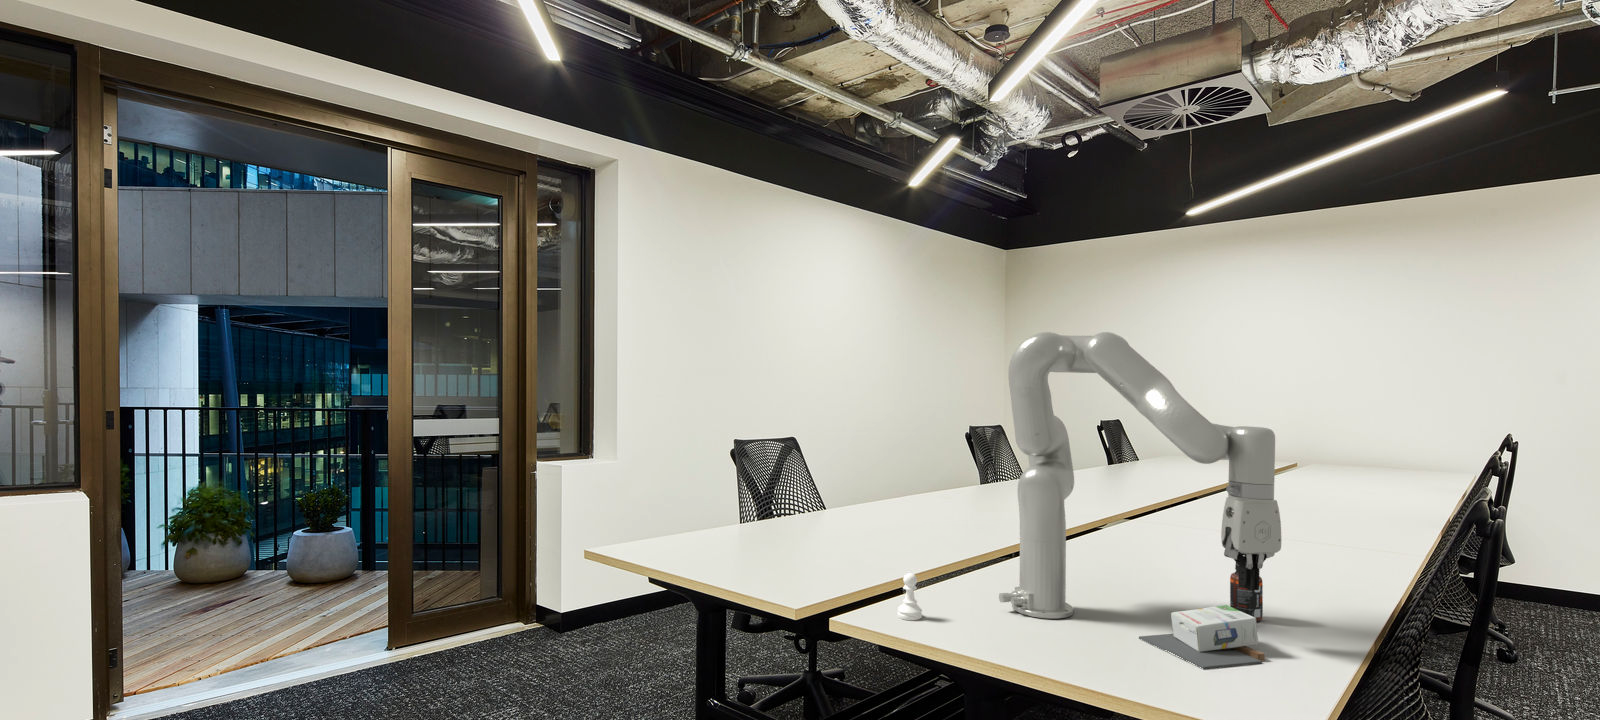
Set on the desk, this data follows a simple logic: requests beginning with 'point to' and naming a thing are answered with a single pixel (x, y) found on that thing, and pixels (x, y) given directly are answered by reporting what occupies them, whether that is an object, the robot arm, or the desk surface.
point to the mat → (1200, 653)
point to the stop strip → (1251, 652)
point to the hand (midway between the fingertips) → (1248, 588)
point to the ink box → (1214, 628)
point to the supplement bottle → (1246, 597)
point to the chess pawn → (909, 600)
